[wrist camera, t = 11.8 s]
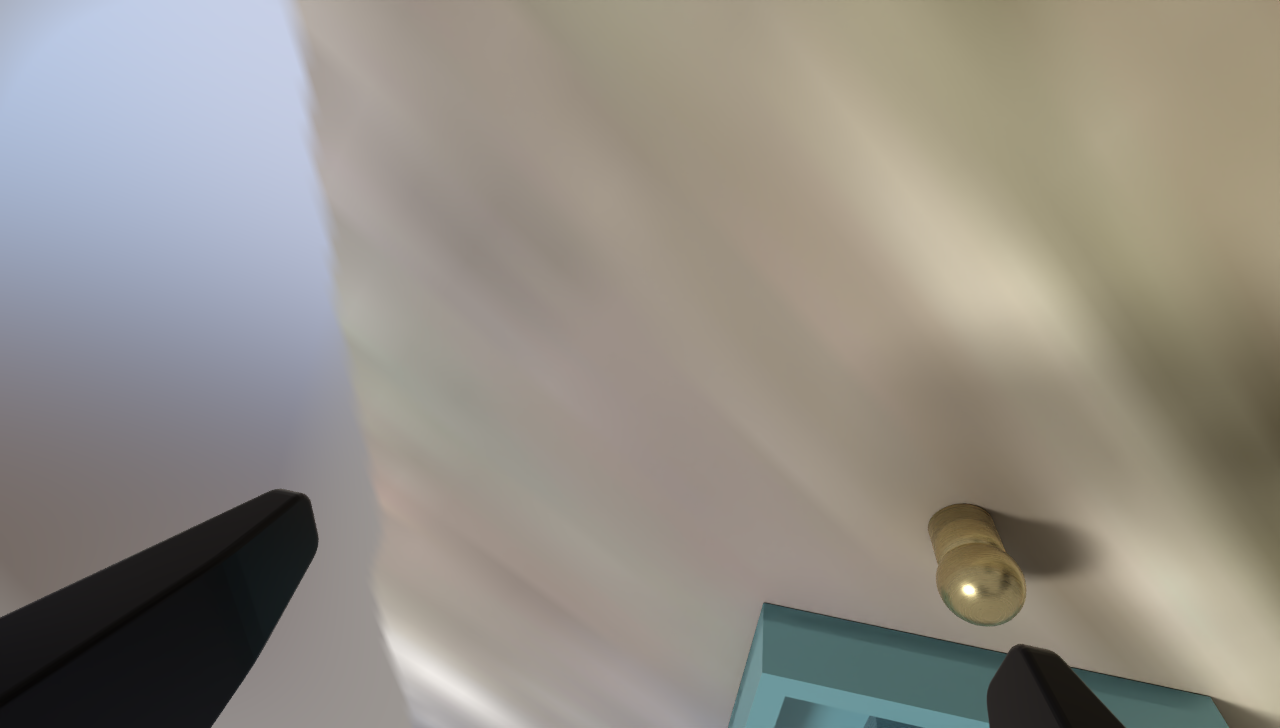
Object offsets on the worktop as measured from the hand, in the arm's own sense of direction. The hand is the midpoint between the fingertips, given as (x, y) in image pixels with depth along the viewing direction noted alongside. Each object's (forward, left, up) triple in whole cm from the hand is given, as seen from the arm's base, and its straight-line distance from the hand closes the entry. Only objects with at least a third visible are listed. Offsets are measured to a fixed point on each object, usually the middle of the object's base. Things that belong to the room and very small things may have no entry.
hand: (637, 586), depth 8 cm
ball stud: (-9, +8, -12) cm, 17 cm away
